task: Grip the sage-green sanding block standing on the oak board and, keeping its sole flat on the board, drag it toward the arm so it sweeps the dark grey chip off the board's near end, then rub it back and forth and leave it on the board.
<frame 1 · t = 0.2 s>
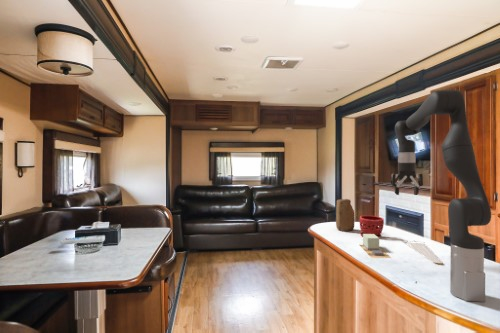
hand: (406, 194, 147), 29 cm above the worktop, tool pointing down, fingers open, 8 cm apart
oak board: (374, 253, 147), on the worktop
block: (345, 230, 195), on the worktop
pencil chip: (377, 254, 142), point 1 cm above the worktop, touching oak board
baseboard: (421, 254, 147), on the worktop
plant pot: (371, 237, 176), on the worktop
sanding block: (370, 247, 152), point 1 cm above the worktop, touching oak board
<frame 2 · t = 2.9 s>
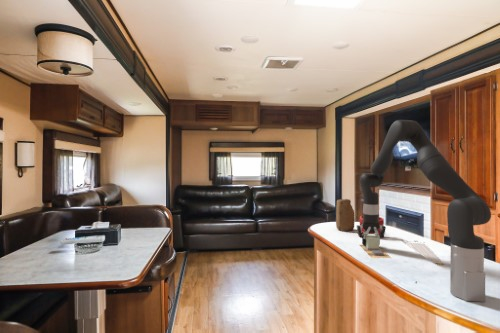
hand: (370, 245, 152), 3 cm above the worktop, tool pointing down, fingers closed on sanding block, 5 cm apart
sanding block: (370, 247, 152), point 1 cm above the worktop, touching gripper, oak board
everything else where it was.
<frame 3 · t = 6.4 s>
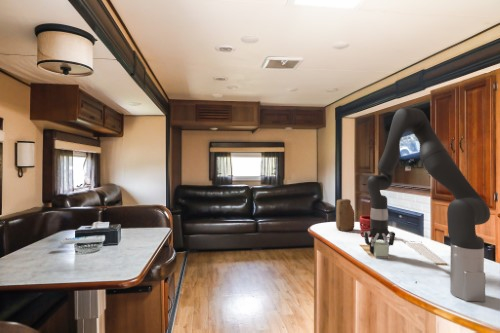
hand: (379, 253, 140), 2 cm above the worktop, tool pointing down, fingers closed on sanding block, 5 cm apart
pencil chip: (382, 263, 135), on the worktop
sanding block: (379, 255, 140), point 2 cm above the worktop, touching gripper
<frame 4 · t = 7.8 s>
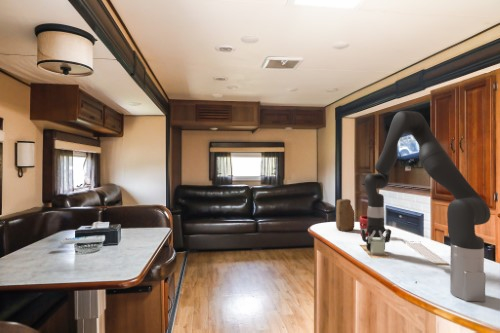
hand: (375, 250, 144), 3 cm above the worktop, tool pointing down, fingers closed on sanding block, 5 cm apart
sanding block: (375, 252, 144), point 2 cm above the worktop, touching gripper
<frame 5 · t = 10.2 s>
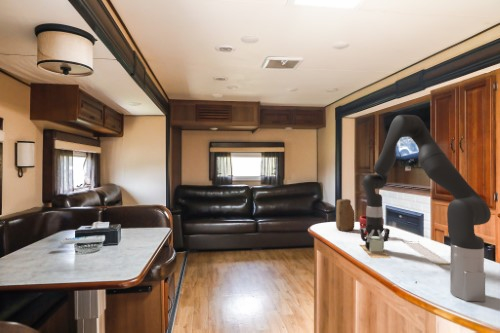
hand: (374, 249, 147), 2 cm above the worktop, tool pointing down, fingers closed on sanding block, 5 cm apart
sanding block: (374, 250, 147), point 2 cm above the worktop, touching gripper
when the fingers open (2 cm above the worktop, at t = 12.3 s): sanding block stays where it is, resting on oak board.
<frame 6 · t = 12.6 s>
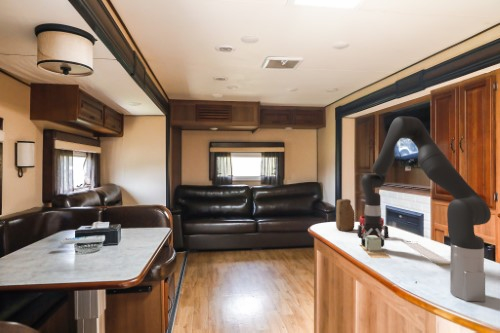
hand: (372, 246, 149), 3 cm above the worktop, tool pointing down, fingers open, 8 cm apart
sanding block: (372, 249, 149), point 1 cm above the worktop, touching oak board
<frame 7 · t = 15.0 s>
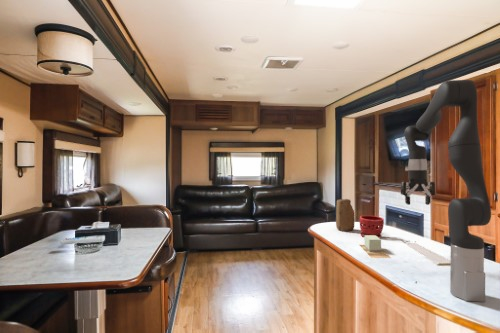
hand: (417, 204, 137), 25 cm above the worktop, tool pointing down, fingers open, 8 cm apart
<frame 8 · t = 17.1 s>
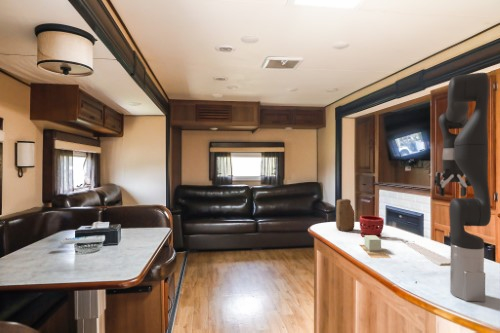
hand: (452, 196, 130), 30 cm above the worktop, tool pointing down, fingers open, 8 cm apart
at the end: pencil chip on the worktop; sanding block inside the target area (0.3 cm from its centre), point 1.5 cm above the worktop; sanding block tilted 0° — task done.
